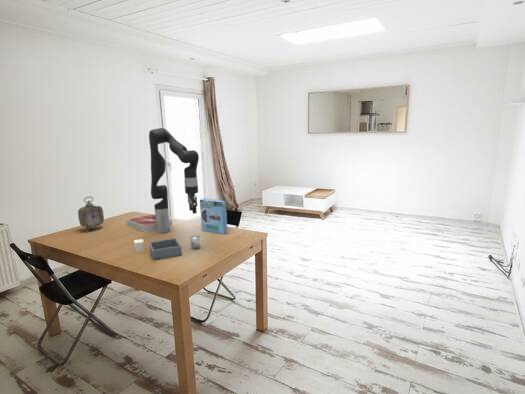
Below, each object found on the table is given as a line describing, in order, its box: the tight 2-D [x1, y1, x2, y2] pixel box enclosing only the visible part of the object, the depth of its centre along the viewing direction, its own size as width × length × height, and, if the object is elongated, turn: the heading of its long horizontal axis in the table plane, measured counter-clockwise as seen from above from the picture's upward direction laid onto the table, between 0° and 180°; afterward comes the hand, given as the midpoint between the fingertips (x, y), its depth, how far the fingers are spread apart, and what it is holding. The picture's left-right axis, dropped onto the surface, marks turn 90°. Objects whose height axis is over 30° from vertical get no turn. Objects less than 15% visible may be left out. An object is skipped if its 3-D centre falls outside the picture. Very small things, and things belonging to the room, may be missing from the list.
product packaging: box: [126, 213, 173, 233], centre depth 244 cm, size 22×28×5 cm
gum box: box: [199, 197, 228, 235], centre depth 225 cm, size 20×5×23 cm, turn 60°
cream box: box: [133, 238, 145, 253], centre depth 194 cm, size 6×5×6 cm
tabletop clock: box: [77, 196, 105, 233], centre depth 233 cm, size 14×9×25 cm, turn 150°
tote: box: [148, 237, 183, 261], centre depth 187 cm, size 16×16×6 cm
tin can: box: [189, 235, 201, 251], centre depth 195 cm, size 6×6×7 cm
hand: (193, 211), depth 191 cm, fingers open, 8 cm apart
